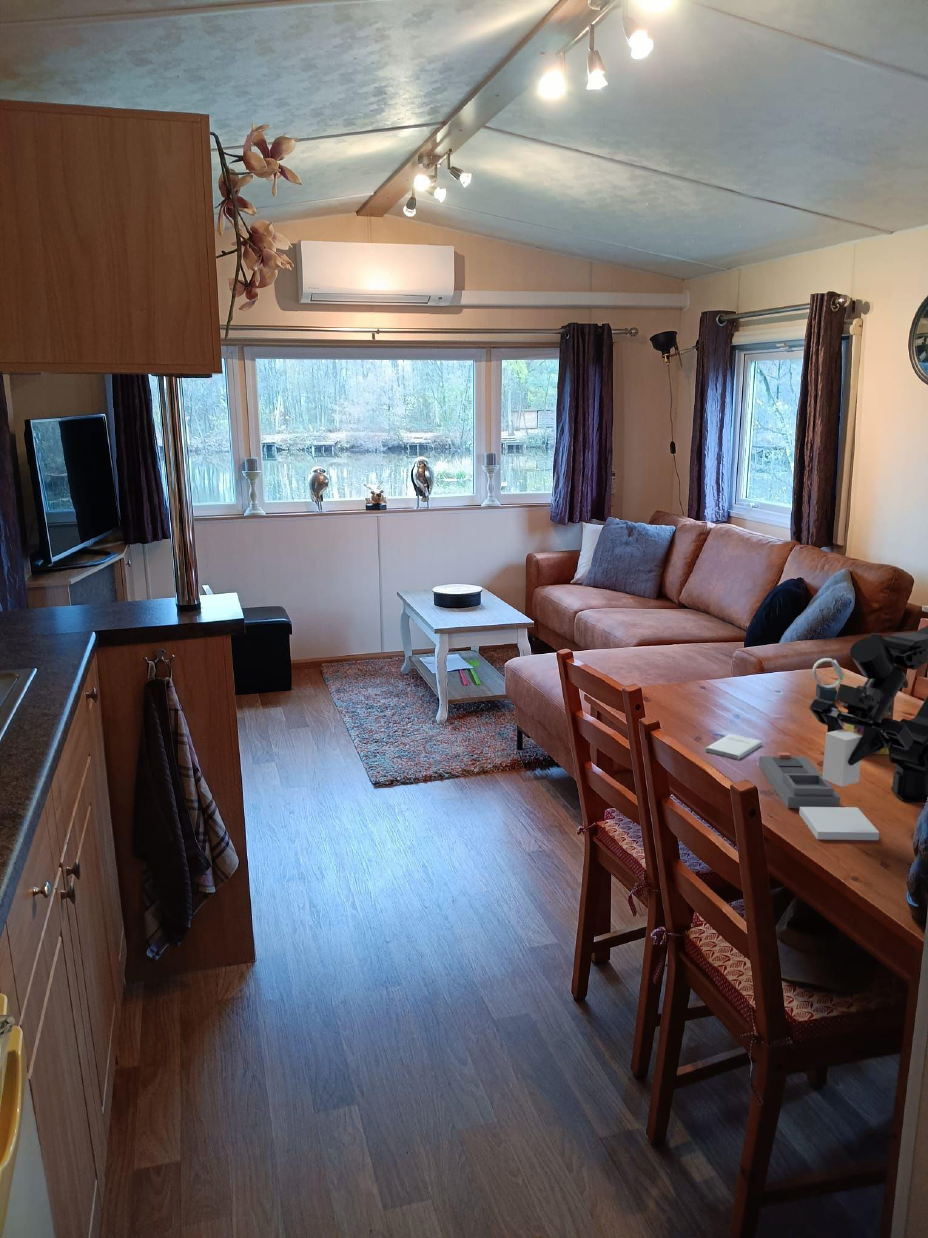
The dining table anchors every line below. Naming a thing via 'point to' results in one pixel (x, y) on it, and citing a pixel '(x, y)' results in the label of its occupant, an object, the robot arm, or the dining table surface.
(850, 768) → the plug
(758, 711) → the dining table surface
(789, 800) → the power strip
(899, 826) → the dining table surface
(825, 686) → the watch
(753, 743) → the external hard drive
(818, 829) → the flat white rectangular slab
